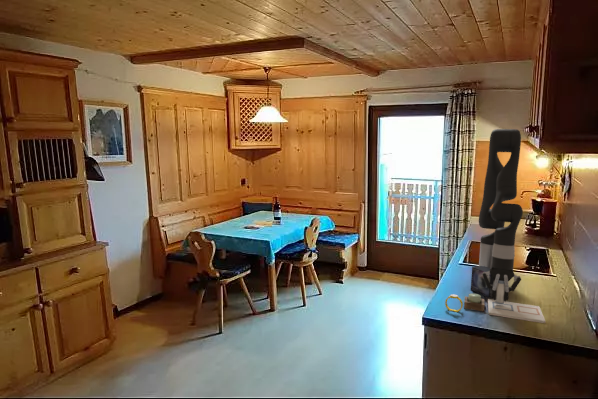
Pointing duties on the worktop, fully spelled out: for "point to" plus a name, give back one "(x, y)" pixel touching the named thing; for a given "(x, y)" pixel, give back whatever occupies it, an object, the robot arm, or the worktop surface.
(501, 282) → the marker
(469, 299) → the button
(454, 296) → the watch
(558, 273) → the worktop surface
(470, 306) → the button housing
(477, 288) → the small box
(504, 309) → the colouring board
